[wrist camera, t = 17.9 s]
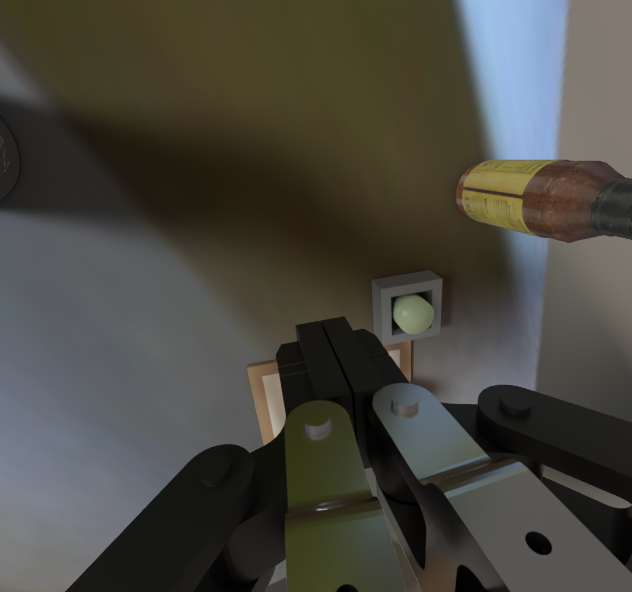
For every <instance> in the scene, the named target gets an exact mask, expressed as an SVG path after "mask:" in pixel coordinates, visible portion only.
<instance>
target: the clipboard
mask: <svg viewBox="0 0 632 592" xmlns="http://www.w3.org/2000/svg"><path fill="white" fill-rule="evenodd" d="M383 347H385V349H386V350H387V352H388V353H389V356H391V357H392V359H393V360H394V361H395V363H396V364H397V366H398V367H399V368H400V370H401V371H402V373H403V374H404V376H405V377H406V378H407V380H408V381H409V383H410V384H411V341H405V342H400V343H395V344H390V345H385V346H383ZM247 370H248V375H249V379H250V384H251V389H252V393H253V398H254V402H255V407H256V412H257V416H258V421H259V425H260V430H261V435H262V439H263V444H264V445H266V444H268V443H269V442H271V441H272V440H273V439H274V438H275V437H276V436H277V435H278V434H279V433H280V432H281V430H282V428H283V426H284V424H285V419H286V414H285V408H284V402H283V395H282V389H281V383H280V377H279V371H278V365H277V359H276V360H271V361H265V362H260V363H255V364H250V365H247Z"/></svg>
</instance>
